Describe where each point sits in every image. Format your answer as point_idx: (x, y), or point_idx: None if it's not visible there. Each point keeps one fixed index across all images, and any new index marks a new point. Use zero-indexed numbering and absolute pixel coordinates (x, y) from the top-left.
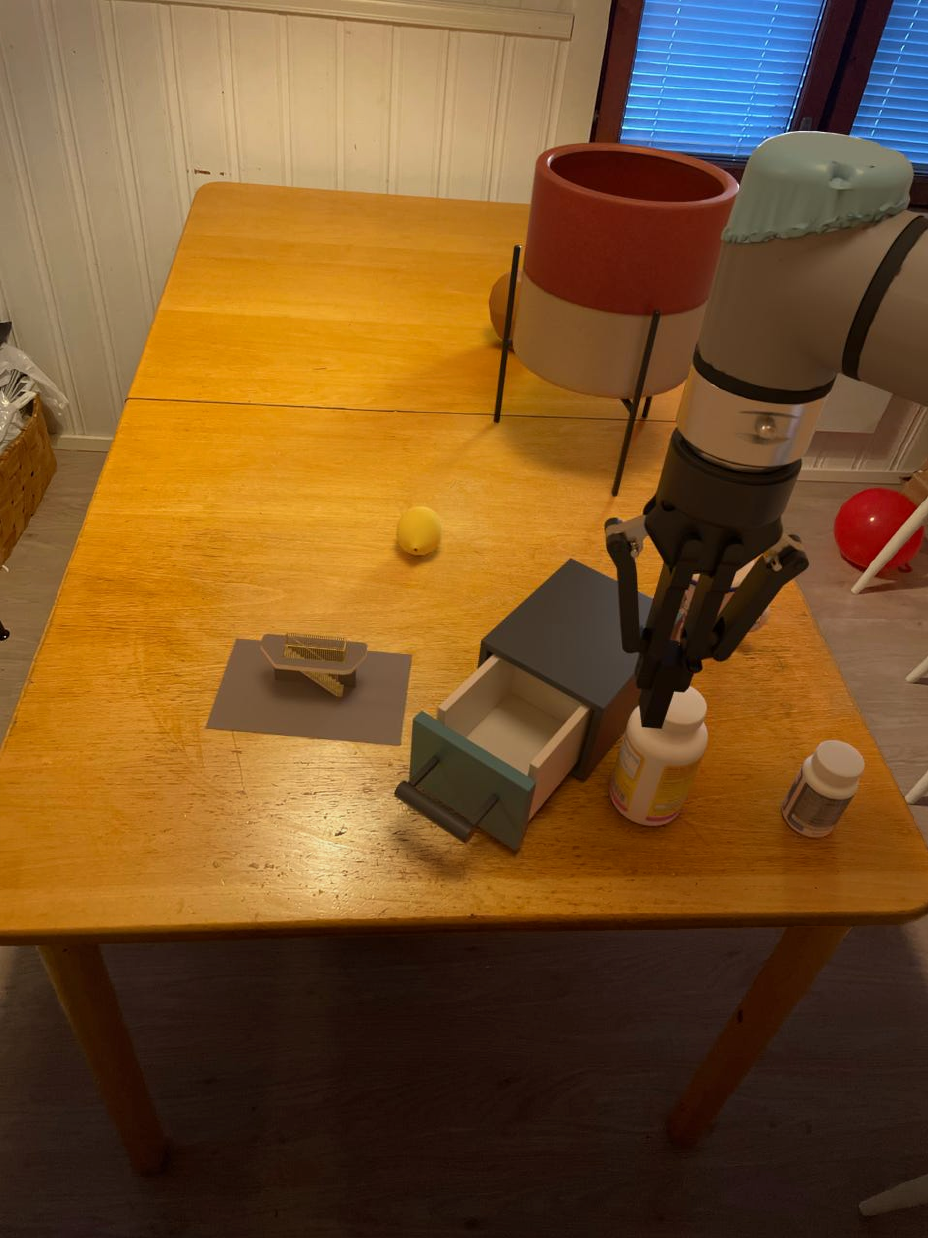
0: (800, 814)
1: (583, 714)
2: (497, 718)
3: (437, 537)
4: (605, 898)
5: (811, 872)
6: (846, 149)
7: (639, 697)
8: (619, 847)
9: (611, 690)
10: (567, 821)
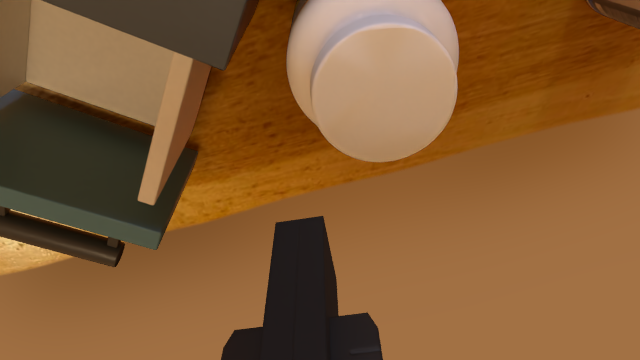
0: (611, 15)
1: (190, 64)
2: None
3: None
4: (314, 178)
5: (591, 73)
6: None
7: (275, 229)
8: None
9: (227, 4)
10: (247, 89)
